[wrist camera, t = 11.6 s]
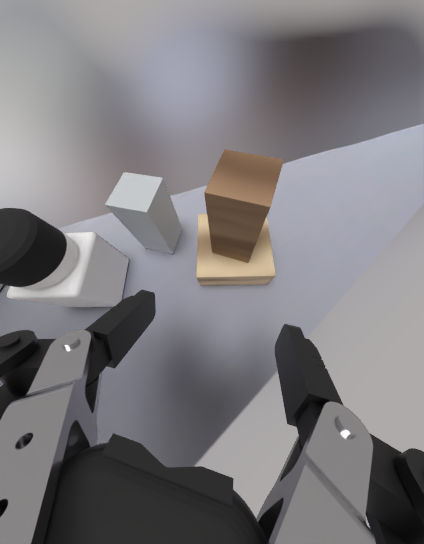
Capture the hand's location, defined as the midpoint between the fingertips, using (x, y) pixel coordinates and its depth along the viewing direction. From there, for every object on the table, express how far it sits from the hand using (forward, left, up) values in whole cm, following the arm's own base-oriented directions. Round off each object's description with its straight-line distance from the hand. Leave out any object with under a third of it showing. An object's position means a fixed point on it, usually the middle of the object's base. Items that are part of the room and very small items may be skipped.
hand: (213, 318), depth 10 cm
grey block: (-7, +13, -11) cm, 18 cm away
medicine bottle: (-16, +7, -11) cm, 21 cm away
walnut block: (+3, +9, -7) cm, 12 cm away
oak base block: (+3, +9, -11) cm, 15 cm away
